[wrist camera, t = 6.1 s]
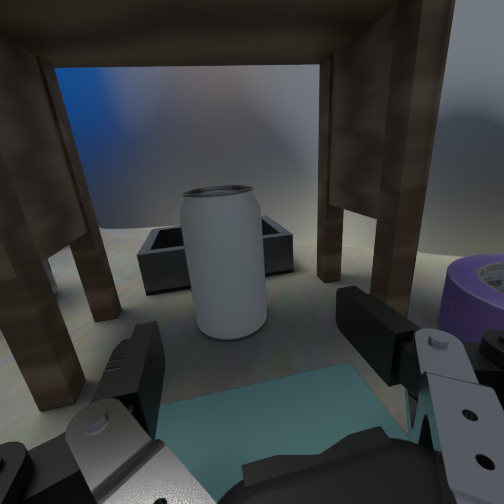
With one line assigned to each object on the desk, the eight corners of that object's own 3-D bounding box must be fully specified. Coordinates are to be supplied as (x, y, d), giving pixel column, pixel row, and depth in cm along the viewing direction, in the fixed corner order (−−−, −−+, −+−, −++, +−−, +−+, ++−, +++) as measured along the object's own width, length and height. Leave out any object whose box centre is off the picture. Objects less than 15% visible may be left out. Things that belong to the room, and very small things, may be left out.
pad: (593, 686, 7) (598, 680, 7) (3, 1024, 5) (-5, 1025, 4) (348, 366, 18) (348, 361, 18) (137, 415, 16) (135, 411, 16)
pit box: (293, 271, 33) (292, 234, 32) (146, 295, 30) (136, 255, 29) (268, 244, 44) (266, 215, 43) (158, 259, 41) (152, 229, 40)
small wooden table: (409, 335, 21) (474, -66, 13) (35, 418, 16) (-233, -129, 8) (329, 271, 33) (337, 45, 25) (102, 308, 28) (21, 45, 20)
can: (256, 297, 28) (247, 182, 24) (277, 333, 22) (271, 188, 18) (195, 309, 27) (175, 189, 23) (200, 351, 21) (174, 199, 17)
